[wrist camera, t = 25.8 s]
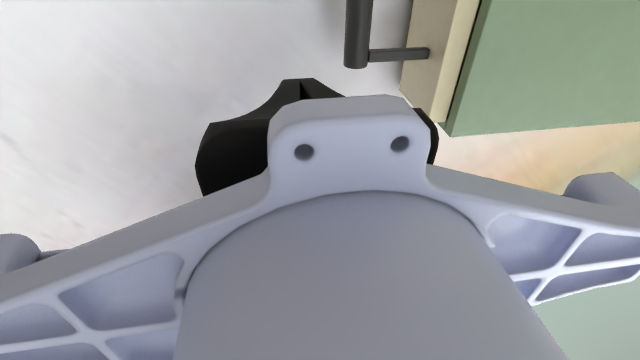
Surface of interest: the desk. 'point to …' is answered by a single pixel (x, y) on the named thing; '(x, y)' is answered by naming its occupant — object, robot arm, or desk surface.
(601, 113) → the box
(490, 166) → the desk surface
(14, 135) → the desk surface
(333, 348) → the robot arm
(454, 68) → the drawer
